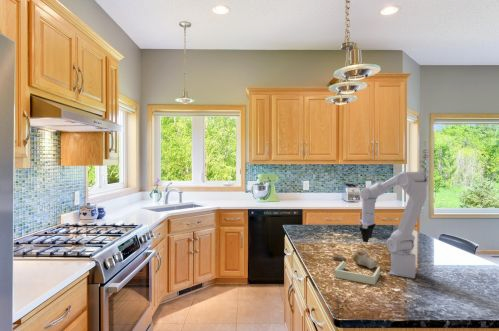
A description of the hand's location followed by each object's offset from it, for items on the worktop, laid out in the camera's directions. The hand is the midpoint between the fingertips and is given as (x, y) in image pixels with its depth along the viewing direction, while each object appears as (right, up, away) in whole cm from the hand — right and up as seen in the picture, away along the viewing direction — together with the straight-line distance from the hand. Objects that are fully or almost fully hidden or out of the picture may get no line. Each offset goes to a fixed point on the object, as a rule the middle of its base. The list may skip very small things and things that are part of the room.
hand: (367, 239), depth 144 cm
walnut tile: (-13, -10, +2) cm, 17 cm away
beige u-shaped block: (-12, -10, -20) cm, 25 cm away
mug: (-4, -10, -9) cm, 14 cm away
